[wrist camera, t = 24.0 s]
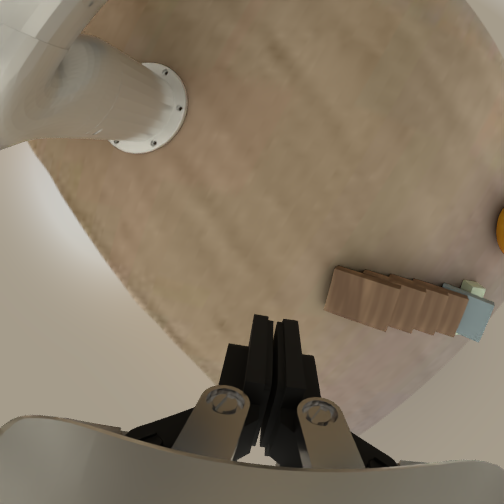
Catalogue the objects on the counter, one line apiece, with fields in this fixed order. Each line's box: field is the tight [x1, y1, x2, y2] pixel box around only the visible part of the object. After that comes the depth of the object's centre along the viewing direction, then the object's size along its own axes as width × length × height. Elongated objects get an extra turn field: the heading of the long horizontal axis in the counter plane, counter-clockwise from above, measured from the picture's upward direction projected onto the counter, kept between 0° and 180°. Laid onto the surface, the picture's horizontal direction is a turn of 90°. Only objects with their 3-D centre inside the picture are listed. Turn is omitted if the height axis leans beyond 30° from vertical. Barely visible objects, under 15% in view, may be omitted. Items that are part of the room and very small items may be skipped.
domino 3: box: [389, 274, 449, 335], centre depth 39 cm, size 2×6×9 cm
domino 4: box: [413, 278, 469, 337], centre depth 39 cm, size 2×6×9 cm
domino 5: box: [442, 283, 494, 342], centre depth 38 cm, size 2×6×9 cm
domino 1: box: [324, 266, 401, 332], centre depth 39 cm, size 2×6×9 cm
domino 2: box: [363, 269, 426, 333], centre depth 39 cm, size 2×6×9 cm
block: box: [455, 280, 486, 335], centre depth 40 cm, size 3×8×3 cm, turn 171°
